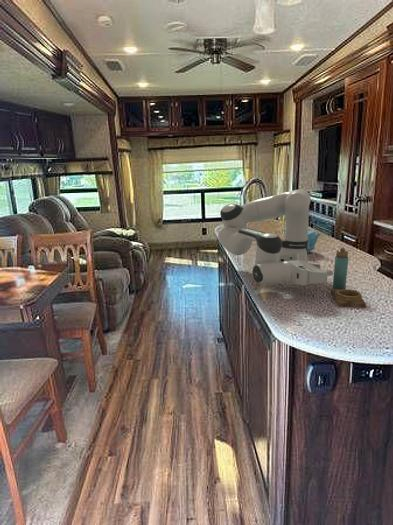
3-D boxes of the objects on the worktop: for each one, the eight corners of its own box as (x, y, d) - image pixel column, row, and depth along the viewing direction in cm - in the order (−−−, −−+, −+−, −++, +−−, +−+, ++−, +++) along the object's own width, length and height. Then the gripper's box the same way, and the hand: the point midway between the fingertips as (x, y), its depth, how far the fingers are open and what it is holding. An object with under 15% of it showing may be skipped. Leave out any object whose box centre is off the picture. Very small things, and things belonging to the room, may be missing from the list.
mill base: (337, 306, 130) (338, 298, 129) (331, 292, 144) (331, 285, 143) (365, 307, 128) (366, 299, 127) (356, 293, 142) (356, 286, 141)
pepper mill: (333, 290, 145) (337, 248, 141) (331, 287, 150) (335, 246, 145) (346, 291, 144) (350, 249, 140) (344, 287, 149) (348, 246, 144)
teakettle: (292, 257, 202) (293, 231, 198) (280, 249, 220) (281, 226, 216) (323, 255, 204) (325, 230, 201) (308, 248, 222) (310, 225, 219)
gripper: (282, 271, 151) (312, 269, 154) (305, 287, 132) (338, 284, 134) (283, 257, 150) (313, 255, 152) (306, 270, 130) (340, 268, 133)
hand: (325, 269), depth 143 cm, fingers open, 8 cm apart
